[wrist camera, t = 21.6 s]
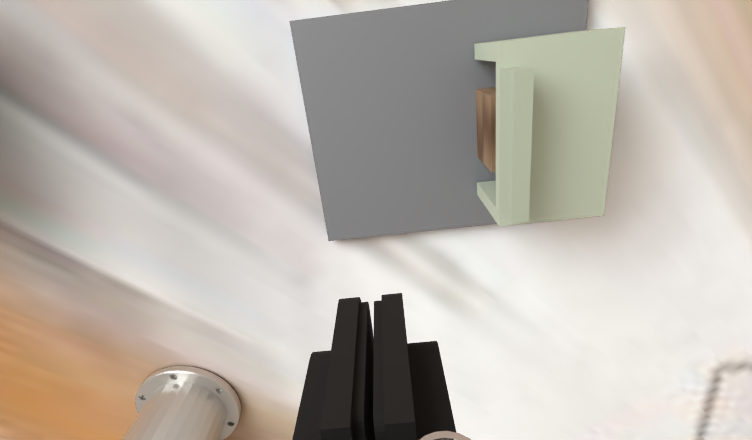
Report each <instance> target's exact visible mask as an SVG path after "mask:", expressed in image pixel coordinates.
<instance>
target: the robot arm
mask: <svg viewBox="0 0 752 440" xmlns="http://www.w3.org/2000/svg"><path fill="white" fill-rule="evenodd" d="M135 404H136V409H137V412H138V415H137V417H136V418H135V420H134V421H133V423H132V424H131V426H130V427H129V429H128V430H127V432H126V434H125V435H124V437H123V438H122V440H224V439H225V438H227V437H228V436H229V435H230V434H232V433H233V431H234V430H235V428H236V427H237V424H238V422H239V419H240V415H241V404H240V401H239V398H238V396H237V394H236V393H235V391H234V390H233V389H232V387H231V386H230V385H229V384H228V383H227V382H225V381H224V380H223V379H222V378H220V377H219V376H217V375H215V374H213V373H211V372H209V371H206V370H204V369H200V368H196V367H189V366H172V367H167V368H163V369H161V370H158V371H156V372H154V373H153V374H151V375H150V376H148V377H147V379H146V380H145V381H144V382H143V383H142V385H141V386H140V388H139V389H138V392H137V394H136V401H135ZM293 440H471V439H469V438H467V437H465V436H463V435H461V434H459V433H456V429H455V424H454V419H453V415H452V410H451V405H450V400H449V395H448V390H447V386H446V381H445V376H444V371H443V366H442V362H441V357H440V352H439V347H438V343H437V341H431V342H420V343H409V344H407V337H406V328H405V318H404V309H403V299H402V293H398V294H387V295H382V301H374V337H373V330H372V323H371V316H370V310H369V304H368V302H362V303H361V300H360V297H356V298H346V299H339V302H338V308H337V315H336V322H335V328H334V335H333V342H332V349H331V351H321V352H313V353H312V354H311V357H310V361H309V365H308V370H307V375H306V379H305V384H304V389H303V393H302V398H301V403H300V407H299V412H298V417H297V421H296V426H295V431H294V435H293Z"/></svg>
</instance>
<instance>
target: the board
mask: <svg viewBox="0 0 752 440" xmlns="http://www.w3.org/2000/svg"><path fill="white" fill-rule="evenodd" d="M587 11H588V0H450V1H442V2H435V3H427V4H419V5H411V6H404V7H396V8H388V9H380V10H373V11H365V12H357V13H349V14H341V15H334V16H326V17H318V18H310V19H303V20H295V21H290V26H291V32H292V38H293V43H294V49H295V54H296V60H297V66H298V71H299V77H300V83H301V88H302V94H303V99H304V105H305V111H306V116H307V122H308V127H309V133H310V139H311V144H312V150H313V155H314V161H315V167H316V172H317V178H318V184H319V189H320V195H321V200H322V206H323V212H324V217H325V223H326V228H327V234H328V240H329V241H334V240H344V239H353V238H363V237H373V236H382V235H392V234H402V233H412V232H421V231H431V230H441V229H450V228H460V227H470V226H479V225H489V224H497V223H496V221H495V220H494V218H493V217H492V215H491V214H490V213H489V211H488V210H487V208H486V207H485V205H484V204H483V202H482V201H481V199H480V198H479V197H478V195H477V182H486V181H495V180H496V172H491V171H490V170H489V169H488V168H487V167H486V166H485V165H484V163H483V162H482V161H481V160H480V159H479V158H478V157H477V121H476V89H483V88H490V87H496V62H494V61H485V60H476V59H475V51H474V44H477V43H485V42H493V41H501V40H509V39H517V38H525V37H533V36H541V35H549V34H558V33H566V32H574V31H586V23H587Z"/></svg>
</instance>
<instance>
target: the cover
mask: <svg viewBox="0 0 752 440" xmlns="http://www.w3.org/2000/svg"><path fill="white" fill-rule="evenodd" d="M624 35H625V27H621V28H609V29H597V30H586V31H574V32H566V33H558V34H549V35H541V36H533V37H525V38H517V39H509V40H501V41H493V42H485V43H477V44H474V51H475V59H476V60H485V61H494V62H496V180H495V181H486V182H477V195H478V197H479V198H480V199H481V201H482V202H483V204H484V205H485V207H486V208H487V210H488V211H489V213H490V214H491V215H492V217H493V218H494V220H495V221H496V223H497V224H498V226H509V225H519V224H528V223H538V222H548V221H558V220H567V219H577V218H587V217H596V216H604V210H605V201H606V193H607V184H608V175H609V166H610V158H611V149H612V140H613V131H614V123H615V114H616V105H617V96H618V88H619V79H620V70H621V61H622V53H623V44H624Z"/></svg>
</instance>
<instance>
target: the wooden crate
mask: <svg viewBox="0 0 752 440" xmlns="http://www.w3.org/2000/svg"><path fill="white" fill-rule="evenodd" d="M476 121H477V157H478V158H479V159H480V160H481V161H482V162H483V163H484V165H485V166H486V167H487V168H488V169H489V170H490V171H491V172H496V87H490V88H483V89H476Z"/></svg>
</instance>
